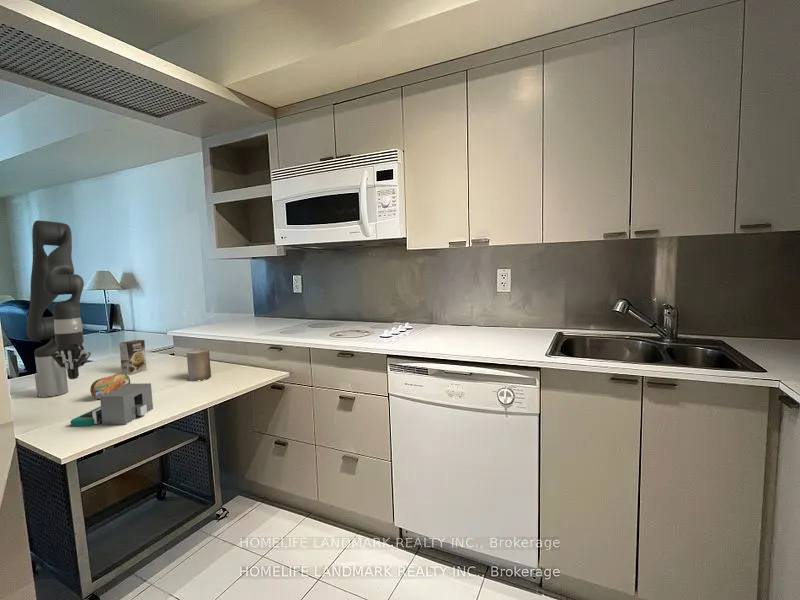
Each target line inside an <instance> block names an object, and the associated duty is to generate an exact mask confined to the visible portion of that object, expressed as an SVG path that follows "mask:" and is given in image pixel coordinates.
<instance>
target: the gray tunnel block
mask: <svg viewBox="0 0 800 600" xmlns="http://www.w3.org/2000/svg"><path fill="white" fill-rule="evenodd" d="M152 392H153V391H152V383H147V382H146V383H143V382H142V383H130V384H128V385H126V386H123V387H121V388H119V389H116V390H114V391H112V392H109V393H107V394H105V395H102V396H100V399H99V400H100V406H101V413H102V422H101V423H102V426H120V425H121V426H125V425H128V424H129V422H130V423H131V422H133V421H135V420H136V419H137V416H136V413H135V404H146V407H147V413H149V412H151V411H152V410H151V409H153V410H154V406H153V405H154V403H153V402H154V401H153V394H152ZM150 410H151V411H150ZM148 411H149V412H148ZM135 418H136V419H135ZM134 419H135V420H134ZM132 420H133V421H132ZM127 423H128V424H127Z"/></svg>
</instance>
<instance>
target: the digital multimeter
mask: <svg viewBox="0 0 800 600" xmlns="http://www.w3.org/2000/svg"><path fill="white" fill-rule="evenodd" d="M99 408H101V405H100V406H98V407H96V408H94V409H92V410H89V411H87V412H86V413H83V414H81V415H79V416H76V417H75V418H72V419H71V420H70V426H71V427H91V426H94V425H95V424H93V414H92V412H93V411H95V410H97V409H99Z"/></svg>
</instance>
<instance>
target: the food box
mask: <svg viewBox="0 0 800 600" xmlns="http://www.w3.org/2000/svg"><path fill="white" fill-rule="evenodd" d="M119 353H120V354H119V355H120V367H121V368H120V369H121V374H126V375H127V374H132V375H134V373H135V374H138V373H137V372H139V373H142V372H144V371H147V370H148V369H147V368H148V367H147V357H146V356H147V355H146V343H145V339H133V340H127V341H122V342H119ZM141 371H142V372H141Z"/></svg>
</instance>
